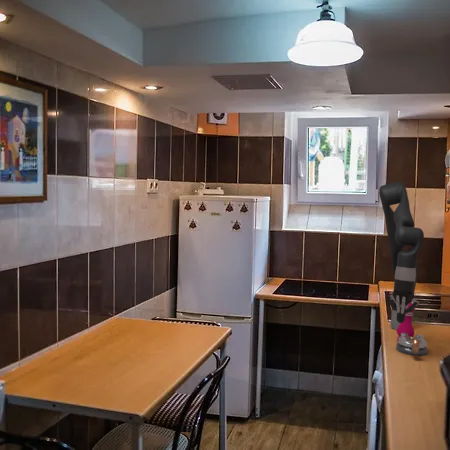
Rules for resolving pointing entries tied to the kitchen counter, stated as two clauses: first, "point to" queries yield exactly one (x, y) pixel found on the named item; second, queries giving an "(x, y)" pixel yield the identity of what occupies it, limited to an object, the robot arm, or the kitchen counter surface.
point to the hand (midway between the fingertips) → (400, 322)
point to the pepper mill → (406, 324)
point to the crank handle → (412, 342)
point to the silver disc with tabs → (408, 351)
